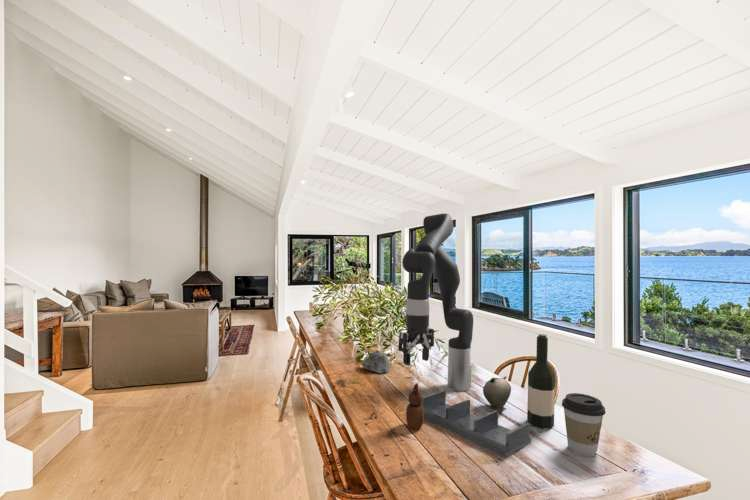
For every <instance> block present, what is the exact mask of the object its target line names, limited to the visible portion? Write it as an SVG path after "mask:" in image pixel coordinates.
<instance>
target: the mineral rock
mask: <svg viewBox="0 0 750 500" xmlns="http://www.w3.org/2000/svg"><path fill="white" fill-rule="evenodd" d="M390 364H391V363H390V361H389V357H388V356H387V354H386V353H384V352H382V351H381V350H379V349H377V350H376V351H372V352H370V353H369V354H368V356H366V357H365V358H364V359H363V362H361V367H362V368H364V369H365V370H368V371H371V372H375V373H377V374H381V375H384V374H388V373H389V372H390V370H391V365H390Z"/></svg>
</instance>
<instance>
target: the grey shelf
mask: <svg viewBox="0 0 750 500" xmlns="http://www.w3.org/2000/svg"><path fill="white" fill-rule="evenodd" d="M446 392H447V391H446V390H445V389H444V390H441V391H437V392H434V393H432V394H428V395H426V396H422V397H423V401H422V403H421V404H422V405H423V407H424V420H427V421H428V422H430V423H432V424H435V425H436V426H439V427H441V428H443V429H445V430H447V431H450V432H451V433H454V434H455V435H457V436H460V437H462V438H464V439H466V440H468V441H469V442H472V443H474V444H477V445H478V446H481V447H483V448H485V449H487V450H488V451H491V452H493V453H494V454H498V455H499V456H502V457H504V458H506V459H507V458H508V457H510V456H512V455H514V454H515V453H516V452H518V451H520V450H521V449H524V448H525V447H527V446H528V445H530V444H531V443H532V438H531V425H530V423H529V422H525V423H523V424H522V425H519V426H518V427H516V428H514V429H509V428H507V427H504V426H502V425H499V411H497V410H495V411H493V412H492V411H490V412H488V413H486V414H484V415H482V416H477V415H475V414H473V413H471V399H466V400H463V401H461V402H459V403H455V404H453V405H451V404H450V403H449V404H448V403H447V402H446V400H447V399H446V398H447V397H446V395H447V393H446Z"/></svg>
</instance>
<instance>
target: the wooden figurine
mask: <svg viewBox="0 0 750 500" xmlns="http://www.w3.org/2000/svg"><path fill="white" fill-rule="evenodd" d="M423 397H424V396H423V394H422V393H421V392H420V391H419V382H415V384H414V386H413V387H412V391H410V392H409V393H408V398H407V399H408V405H407V406H406V412H405V417H406V424H407V426H408V428H409V429H412V430H419V429H421V428H422V426H423V424H424V420H425V419H424V407H423V405H422V401H423Z"/></svg>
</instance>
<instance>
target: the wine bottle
mask: <svg viewBox="0 0 750 500" xmlns="http://www.w3.org/2000/svg"><path fill="white" fill-rule="evenodd" d="M548 342H549V338H548V337H547V334H544V333H539V334H538V336H537V337H536V357H535V359H536V361H535V363H534V364H533V366H532V367H531V368H530V370H529V371H528V372H527V373H528V375H527V376H528V377H527V407H526V409H527V411H526V412H527V414H526V415H527V418H526V421H527V422H529V423H530V427H531V426H532V427H535V428H537V429H541V430H552V429H553V427H554V426H555V403H556V401H555V396H556V395H555V394H556V386H555V385H556V375H555V373H554V371H553V370H552V367H550V365H549V363H548V353H549V352H548V349H549V348H548V345H549V343H548ZM527 422H526V423H527Z"/></svg>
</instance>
